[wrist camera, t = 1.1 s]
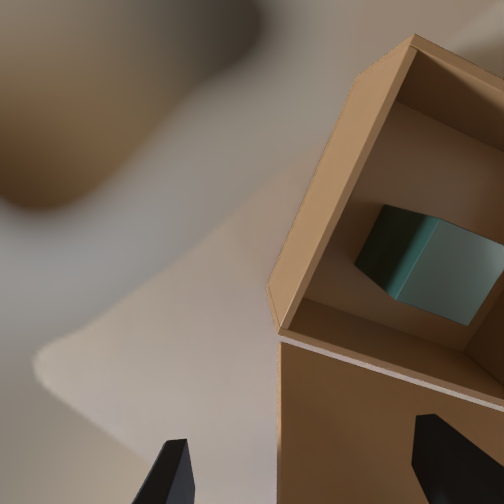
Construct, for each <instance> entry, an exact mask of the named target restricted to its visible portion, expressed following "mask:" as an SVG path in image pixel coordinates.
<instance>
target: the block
mask: <svg viewBox="0 0 504 504" xmlns="http://www.w3.org/2000/svg"><path fill="white" fill-rule="evenodd" d="M354 265H355V266H356V267H357V268H358V269H359V270H360V271H362V272H363V273H364V274H365V275H366V276H367V277H369V278H370V279H371V280H372V281H373V282H375V283H376V284H377V285H378V286H379V287H380V288H382V289H383V290H384V291H385V292H386V293H388V294H389V295H390V296H391V297H392V298H393V299H395V300H396V301H399V302H402V303H405V304H407V305H410V306H413V307H416V308H418V309H421V310H424V311H427V312H429V313H432V314H435V315H438V316H440V317H443V318H446V319H449V320H452V321H454V322H457V323H460V324H463V325H465V326H468V325H469V323H470V322H471V320H472V319H473V317H474V316H475V314H476V312H477V311H478V309H479V308H480V306H481V305H482V303H483V301H484V300H485V298H486V297H487V295H488V294H489V292H490V290H491V289H492V287H493V286H494V284H495V283H496V281H497V279H498V278H499V276H500V275H501V273H502V272H503V270H504V245H503V244H501V243H498V242H496V241H494V240H491V239H489V238H487V237H484V236H482V235H479V234H477V233H475V232H472V231H470V230H467V229H465V228H463V227H460V226H458V225H456V224H453V223H451V222H448V221H446V220H444V219H441V218H438V217H434V216H430V215H426V214H422V213H418V212H414V211H411V210H407V209H403V208H399V207H395V206H391V205H387V204H384V205H383V207H382V209H381V211H380V213H379V215H378V217H377V219H376V221H375V224H374V226H373V228H372V230H371V232H370V234H369V236H368V238H367V240H366V242H365V244H364V246H363V248H362V250H361V252H360V254H359V256H358V258H357V260H356V262H355V264H354Z"/></svg>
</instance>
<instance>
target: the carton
mask: <svg viewBox="0 0 504 504" xmlns="http://www.w3.org/2000/svg"><path fill="white" fill-rule="evenodd" d="M384 204H387V205H391V206H395V207H399V208H403V209H407V210H411V211H414V212H418V213H422V214H426V215H430V216H434V217H438V218H441V219H444V220H446V221H448V222H451V223H453V224H456V225H458V226H460V227H463V228H465V229H467V230H470V231H472V232H475V233H477V234H479V235H482V236H484V237H487V238H489V239H491V240H494V241H496V242H498V243H501V244H503V245H504V80H503V79H502V78H500V77H498V76H496V75H494V74H492V73H490V72H488V71H486V70H484V69H482V68H480V67H478V66H476V65H475V64H473V63H471V62H469V61H467V60H465V59H463V58H461V57H459V56H457V55H455V54H453V53H451V52H450V51H448V50H446V49H444V48H442V47H440V46H438V45H436V44H434V43H432V42H430V41H428V40H426V39H424V38H422V37H420V36H419V35H416V34H413V35H412V36H410V37H409V38H408V39H406V40H405V41H404V42H402V43H401V44H400V45H398V46H397V47H395V48H394V49H393V50H392V51H390V52H389V53H387V54H386V55H385V56H384V57H382V58H381V59H379V60H378V61H377V62H375V63H374V64H373V65H371V66H370V67H368V68H367V69H366V70H364V71H363V72H362V73H360V74H359V75H358V76H357V77H356V78H355V80H354V83H353V85H352V88H351V90H350V92H349V95H348V97H347V99H346V102H345V104H344V106H343V108H342V111H341V113H340V115H339V118H338V120H337V122H336V125H335V127H334V129H333V132H332V134H331V136H330V139H329V141H328V143H327V146H326V148H325V150H324V153H323V155H322V157H321V160H320V162H319V164H318V167H317V169H316V171H315V174H314V176H313V178H312V181H311V183H310V185H309V188H308V190H307V192H306V195H305V197H304V199H303V202H302V204H301V206H300V209H299V211H298V213H297V216H296V218H295V220H294V223H293V225H292V227H291V230H290V232H289V234H288V237H287V239H286V241H285V244H284V246H283V248H282V251H281V253H280V255H279V258H278V260H277V262H276V265H275V267H274V270H273V272H272V274H271V277H270V279H269V281H268V284H267V286H266V291H267V295H268V300H269V304H270V308H271V312H272V316H273V320H274V325H275V329H276V333H277V334H278V335H281V336H284V337H287V338H291V339H294V340H297V341H300V342H303V343H306V344H309V345H312V346H315V347H319V348H322V349H325V350H328V351H331V352H334V353H337V354H340V355H343V356H347V357H350V358H353V359H356V360H359V361H362V362H365V363H368V364H371V365H375V366H378V367H381V368H384V369H387V370H390V371H393V372H396V373H399V374H402V375H406V376H409V377H412V378H415V379H418V380H421V381H424V382H427V383H430V384H434V385H437V386H440V387H443V388H446V389H449V390H452V391H455V392H458V393H462V394H465V395H468V396H471V397H474V398H477V399H480V400H483V401H486V402H490V403H493V404H496V405H499V406H502V407H504V270H503V272H502V273H501V275H500V276H499V278H498V279H497V281H496V283H495V284H494V286H493V287H492V289H491V290H490V292H489V294H488V295H487V297H486V298H485V300H484V301H483V303H482V305H481V306H480V308H479V309H478V311H477V312H476V314H475V316H474V317H473V319H472V320H471V322H470V323H469V325H468V326H465V325H463V324H460V323H457V322H454V321H452V320H449V319H446V318H443V317H440V316H438V315H435V314H432V313H429V312H427V311H424V310H421V309H418V308H416V307H413V306H410V305H407V304H405V303H402V302H399V301H396V300H395V299H393V298H392V297H391V296H390V295H389V294H388V293H386V292H385V291H384V290H383V289H382V288H380V287H379V286H378V285H377V284H376V283H375V282H373V281H372V280H371V279H370V278H369V277H367V276H366V275H365V274H364V273H363V272H362V271H360V270H359V269H358V268H357V267H356V266H355V265H354V264H355V262H356V260H357V258H358V256H359V254H360V252H361V250H362V248H363V246H364V244H365V242H366V240H367V238H368V236H369V234H370V232H371V230H372V228H373V226H374V224H375V221H376V219H377V217H378V215H379V213H380V211H381V209H382V207H383V205H384Z"/></svg>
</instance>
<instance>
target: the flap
mask: <svg viewBox="0 0 504 504" xmlns="http://www.w3.org/2000/svg"><path fill="white" fill-rule="evenodd" d="M425 414H436V415H438V416H439V417H440V418H442V419H443V420H444V421H446V422H447V423H448V424H449V425H451V426H452V427H453V428H455V429H456V430H457V431H458V432H460V433H461V434H462V435H463V436H465V437H466V438H467V439H469V440H470V441H471V442H472V443H474V444H475V445H476V446H478V447H479V448H480V449H481V450H483V451H484V452H485V453H487V454H488V455H489V456H490V457H492V458H493V459H494V460H496V461H497V462H498V463H500V464H501V465H502V466H504V412H501V411H498V410H495V409H492V408H489V407H485V406H482V405H479V404H476V403H473V402H470V401H467V400H463V399H460V398H457V397H454V396H451V395H448V394H445V393H441V392H438V391H435V390H432V389H429V388H426V387H423V386H419V385H416V384H413V383H410V382H407V381H404V380H401V379H397V378H394V377H391V376H388V375H385V374H382V373H379V372H375V371H372V370H369V369H366V368H363V367H360V366H357V365H353V364H350V363H347V362H344V361H341V360H338V359H335V358H331V357H328V356H325V355H322V354H319V353H316V352H313V351H310V350H306V349H303V348H300V347H297V346H294V345H291V344H288V343H284V342H280V343H279V345H278V400H277V504H429V503H428V501H427V499H426V496H425V494H424V492H423V490H422V488H421V486H420V484H419V481H418V479H417V477H416V475H415V473H414V470H413V468H412V466H411V460H412V450H413V440H414V430H415V420H416V415H425Z"/></svg>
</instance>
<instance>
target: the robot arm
mask: <svg viewBox="0 0 504 504" xmlns="http://www.w3.org/2000/svg"><path fill="white" fill-rule="evenodd" d="M411 466H412V468H413V470H414V473H415V475H416V477H417V479H418V481H419V484H420V486H421V488H422V490H423V492H424V494H425V496H426V499H427V501H428V503H429V504H504V466H502V465H501V464H500V463H498V462H497V461H496V460H494V459H493V458H492V457H490V456H489V455H488V454H487V453H485V452H484V451H483V450H481V449H480V448H479V447H478V446H476V445H475V444H474V443H472V442H471V441H470V440H469V439H467V438H466V437H465V436H463V435H462V434H461V433H460V432H458V431H457V430H456V429H455V428H453V427H452V426H451V425H449V424H448V423H447V422H446V421H444V420H443V419H442V418H440V417H439V416H438V415H436V414H425V415H416V420H415V430H414V440H413V450H412V460H411ZM194 497H195V484H194V478H193V472H192V466H191V460H190V455H189V449H188V443H187V439H178V440H168V441H166V442H165V443H164V445H163V447H162V449H161V451H160V453H159V455H158V457H157V459H156V460H155V462H154V464H153V466H152V468H151V470H150V472H149V474H148V476H147V477H146V479H145V481H144V483H143V485H142V486H141V488H140V490H139V492H138V493H137V495H136V497H135V499H134V501H133V502H132V504H194Z"/></svg>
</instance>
